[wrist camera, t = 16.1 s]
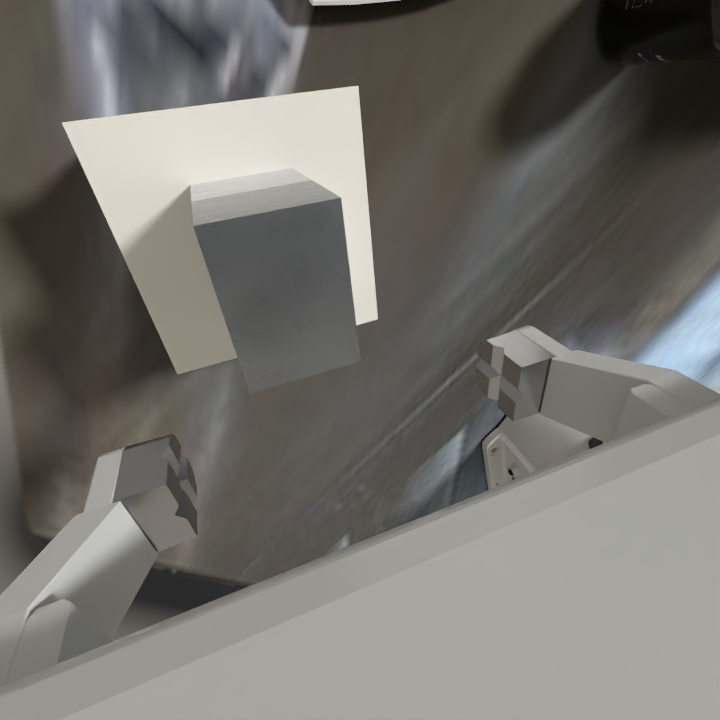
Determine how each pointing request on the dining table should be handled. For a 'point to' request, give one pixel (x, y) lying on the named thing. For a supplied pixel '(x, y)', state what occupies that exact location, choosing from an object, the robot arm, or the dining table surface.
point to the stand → (211, 163)
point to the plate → (345, 2)
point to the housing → (278, 273)
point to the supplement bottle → (659, 30)
